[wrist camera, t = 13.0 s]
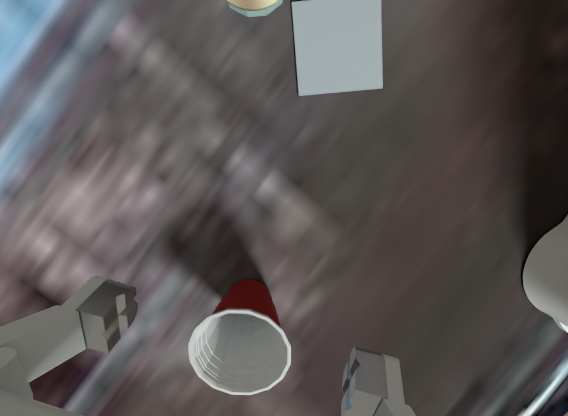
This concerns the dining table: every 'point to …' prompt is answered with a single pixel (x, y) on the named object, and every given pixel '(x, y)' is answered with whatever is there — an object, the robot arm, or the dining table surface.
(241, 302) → the plastic cup
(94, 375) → the dining table surface
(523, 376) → the dining table surface
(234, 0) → the lid
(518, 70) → the dining table surface
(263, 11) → the bowl
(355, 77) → the mat
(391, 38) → the dining table surface
